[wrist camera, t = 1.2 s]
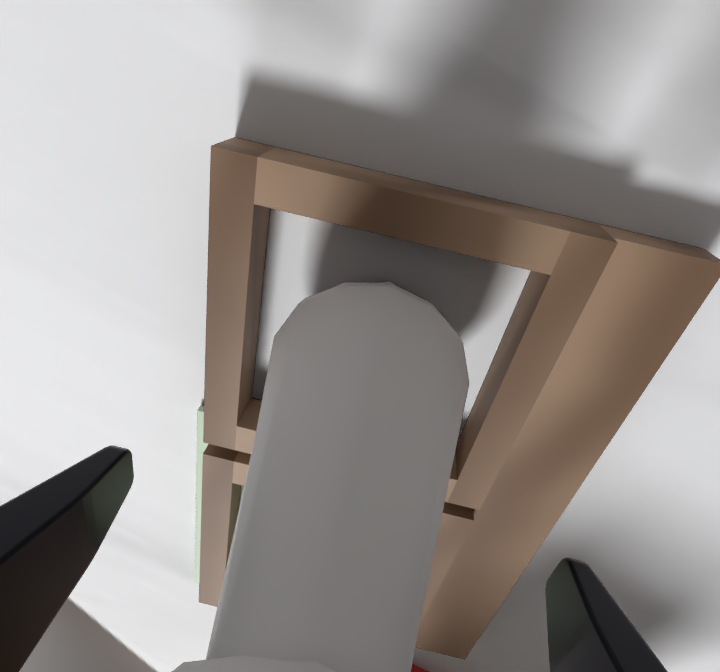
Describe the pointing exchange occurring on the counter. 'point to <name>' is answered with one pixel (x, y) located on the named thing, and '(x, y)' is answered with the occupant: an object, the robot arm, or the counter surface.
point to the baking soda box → (417, 669)
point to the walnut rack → (504, 378)
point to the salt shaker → (342, 487)
